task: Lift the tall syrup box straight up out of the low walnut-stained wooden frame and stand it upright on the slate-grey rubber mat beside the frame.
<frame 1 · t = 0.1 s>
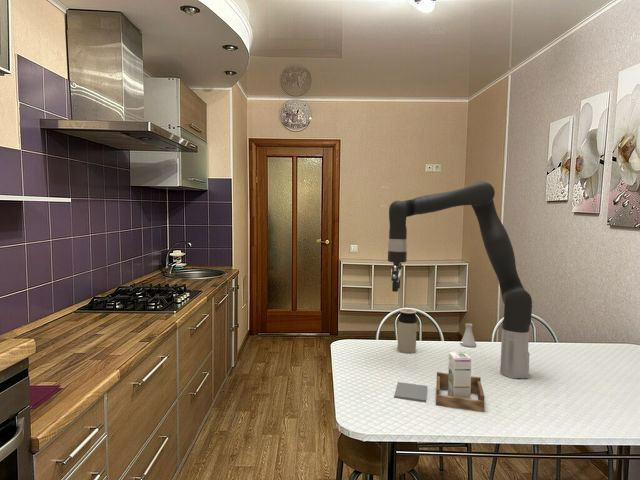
hand: (396, 289, 165), 29 cm above the table, tool pointing down, fingers open, 8 cm apart
flask: (468, 345, 190), on the table
travel mug: (406, 351, 179), on the table
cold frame: (458, 398, 131), on the table
mat: (411, 392, 135), on the table
syrup box: (458, 399, 131), resting in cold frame
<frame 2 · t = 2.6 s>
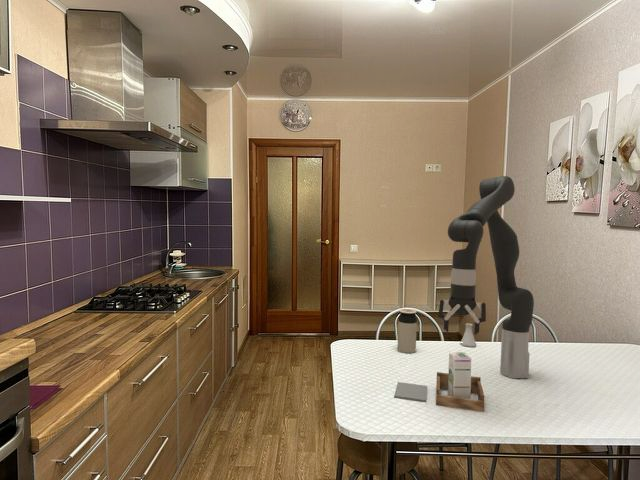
hand: (460, 332, 130), 22 cm above the table, tool pointing down, fingers open, 8 cm apart
nothing on the table moved.
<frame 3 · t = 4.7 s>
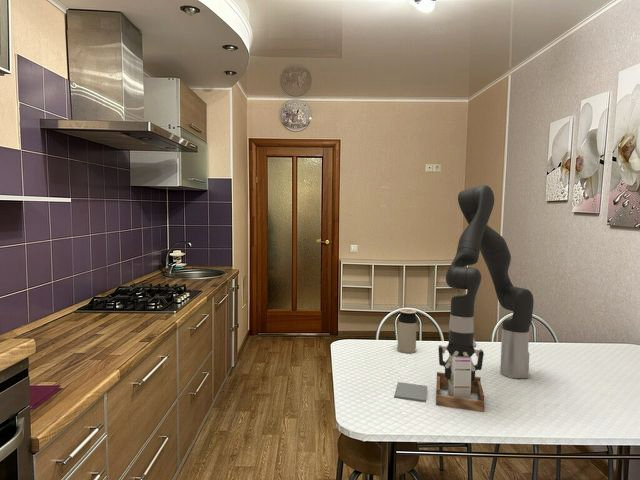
hand: (459, 380, 130), 6 cm above the table, tool pointing down, fingers closed on syrup box, 6 cm apart
syrup box: (458, 399, 131), resting in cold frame, touching gripper
everything else where it was.
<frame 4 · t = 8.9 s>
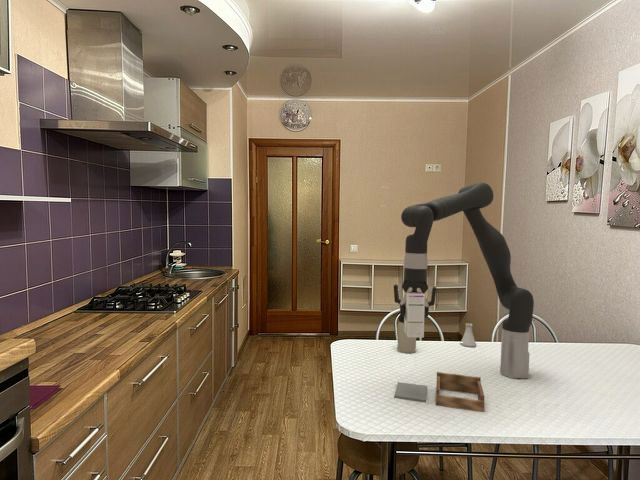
hand: (413, 316, 134), 26 cm above the table, tool pointing down, fingers closed on syrup box, 6 cm apart
syrup box: (413, 335, 134), point 19 cm above the table, touching gripper
everything else where it was.
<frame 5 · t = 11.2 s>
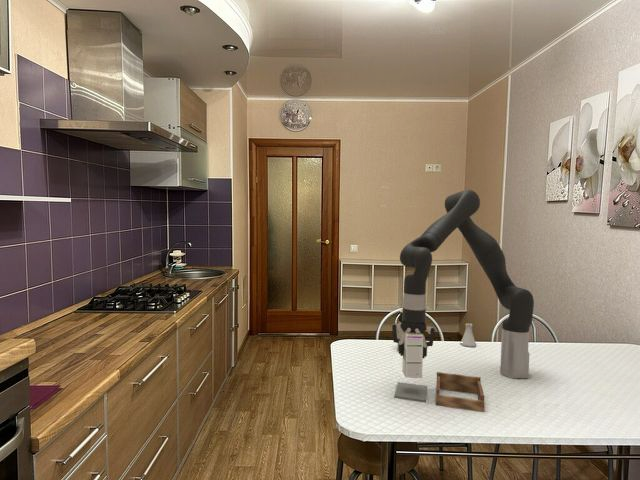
hand: (412, 356, 134), 12 cm above the table, tool pointing down, fingers closed on syrup box, 6 cm apart
syrup box: (411, 375, 135), point 6 cm above the table, touching gripper
everything else where it was.
when the fingers open (8 cm above the table, at t = 13.1 s): syrup box drops 1 cm, resting on mat.
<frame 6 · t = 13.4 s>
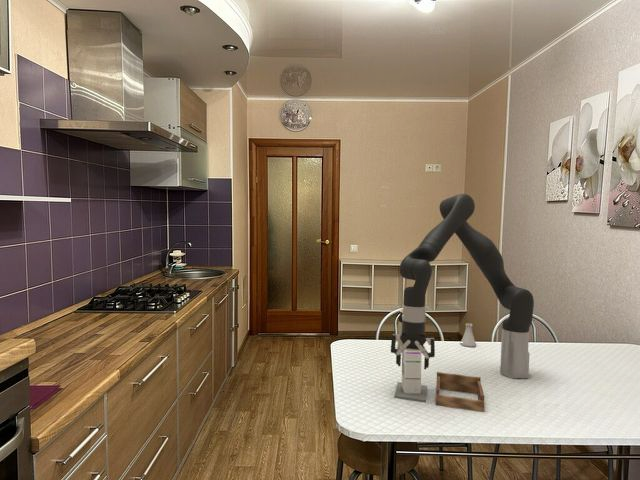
hand: (412, 367, 134), 9 cm above the table, tool pointing down, fingers open, 8 cm apart
syrup box: (410, 391, 135), resting on mat
everything else where it was.
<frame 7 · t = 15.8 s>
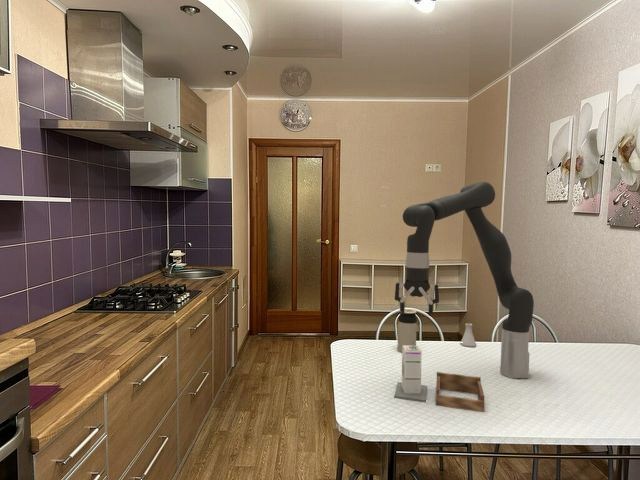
hand: (416, 314, 134), 26 cm above the table, tool pointing down, fingers open, 8 cm apart
nothing on the table moved.
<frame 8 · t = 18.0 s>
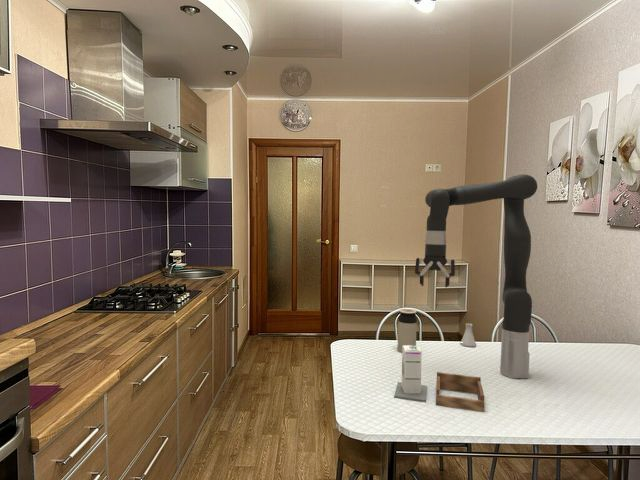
hand: (434, 286, 151), 33 cm above the table, tool pointing down, fingers open, 8 cm apart
nothing on the table moved.
at the end: syrup box inside the target area on the mat (0.2 cm from its centre), point 0.4 cm above the mat's base; syrup box tilted 0°; the gripper is holding nothing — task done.
